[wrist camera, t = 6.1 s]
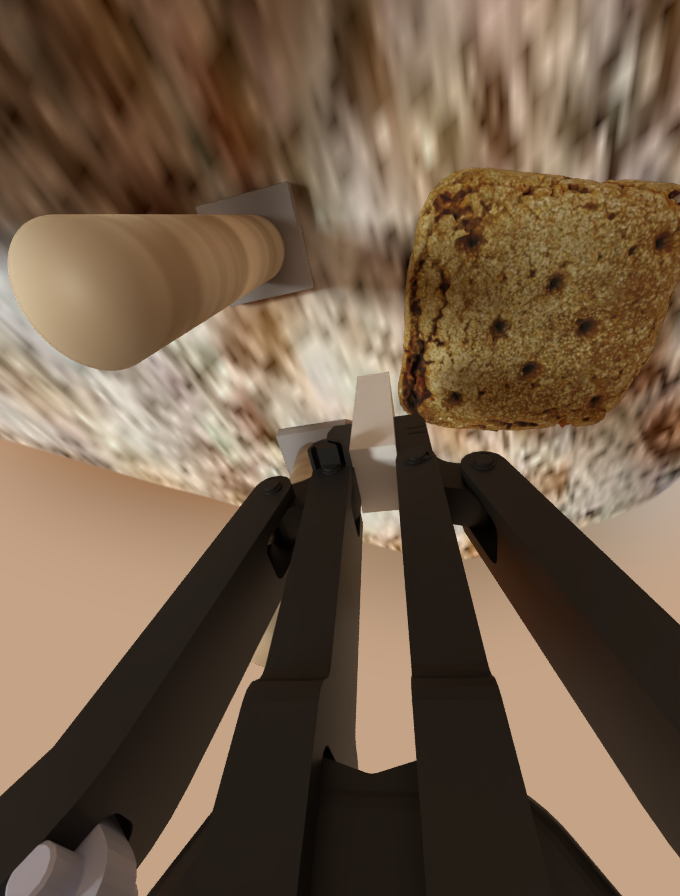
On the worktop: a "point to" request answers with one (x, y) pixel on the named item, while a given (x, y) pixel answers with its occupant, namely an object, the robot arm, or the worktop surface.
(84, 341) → the post
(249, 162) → the worktop surface
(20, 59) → the worktop surface
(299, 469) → the post
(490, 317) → the pastry
